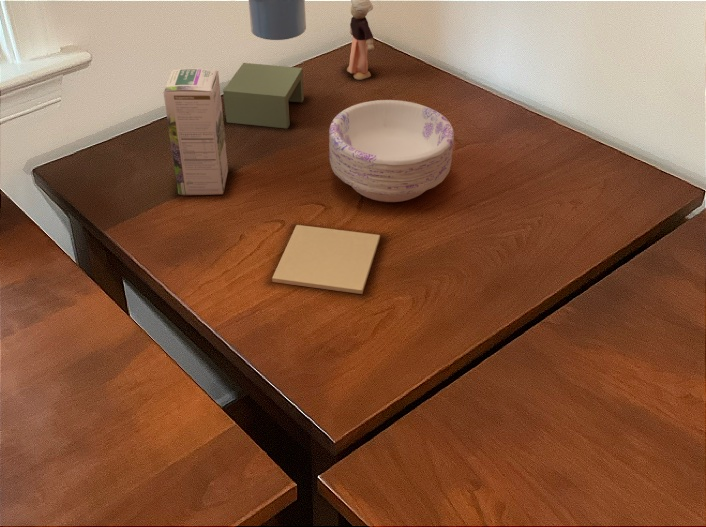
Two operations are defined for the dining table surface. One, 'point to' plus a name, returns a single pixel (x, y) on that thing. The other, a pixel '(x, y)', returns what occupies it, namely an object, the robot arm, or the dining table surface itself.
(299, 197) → the dining table surface
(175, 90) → the syrup box
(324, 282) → the mat
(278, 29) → the cup
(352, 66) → the grandmother figurine
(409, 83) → the dining table surface
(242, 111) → the shelf
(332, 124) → the paper bowls
